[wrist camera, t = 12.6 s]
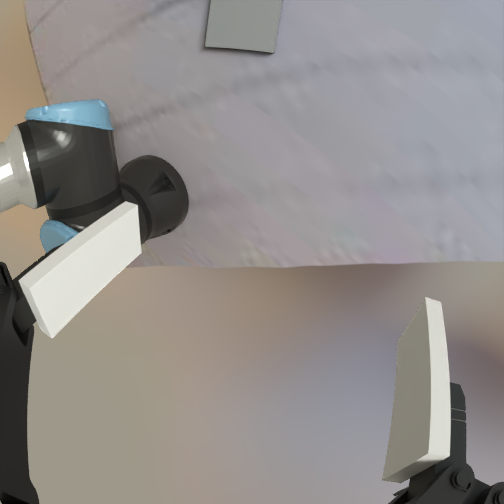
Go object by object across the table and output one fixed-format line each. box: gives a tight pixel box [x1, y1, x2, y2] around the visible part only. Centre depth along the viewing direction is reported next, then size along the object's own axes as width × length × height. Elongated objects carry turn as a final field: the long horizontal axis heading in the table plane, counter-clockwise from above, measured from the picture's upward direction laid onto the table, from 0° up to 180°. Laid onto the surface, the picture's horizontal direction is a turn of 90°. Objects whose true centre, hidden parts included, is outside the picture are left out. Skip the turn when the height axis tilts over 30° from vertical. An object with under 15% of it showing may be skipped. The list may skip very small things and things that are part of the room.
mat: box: [205, 0, 282, 53], centre depth 33 cm, size 10×10×1 cm
